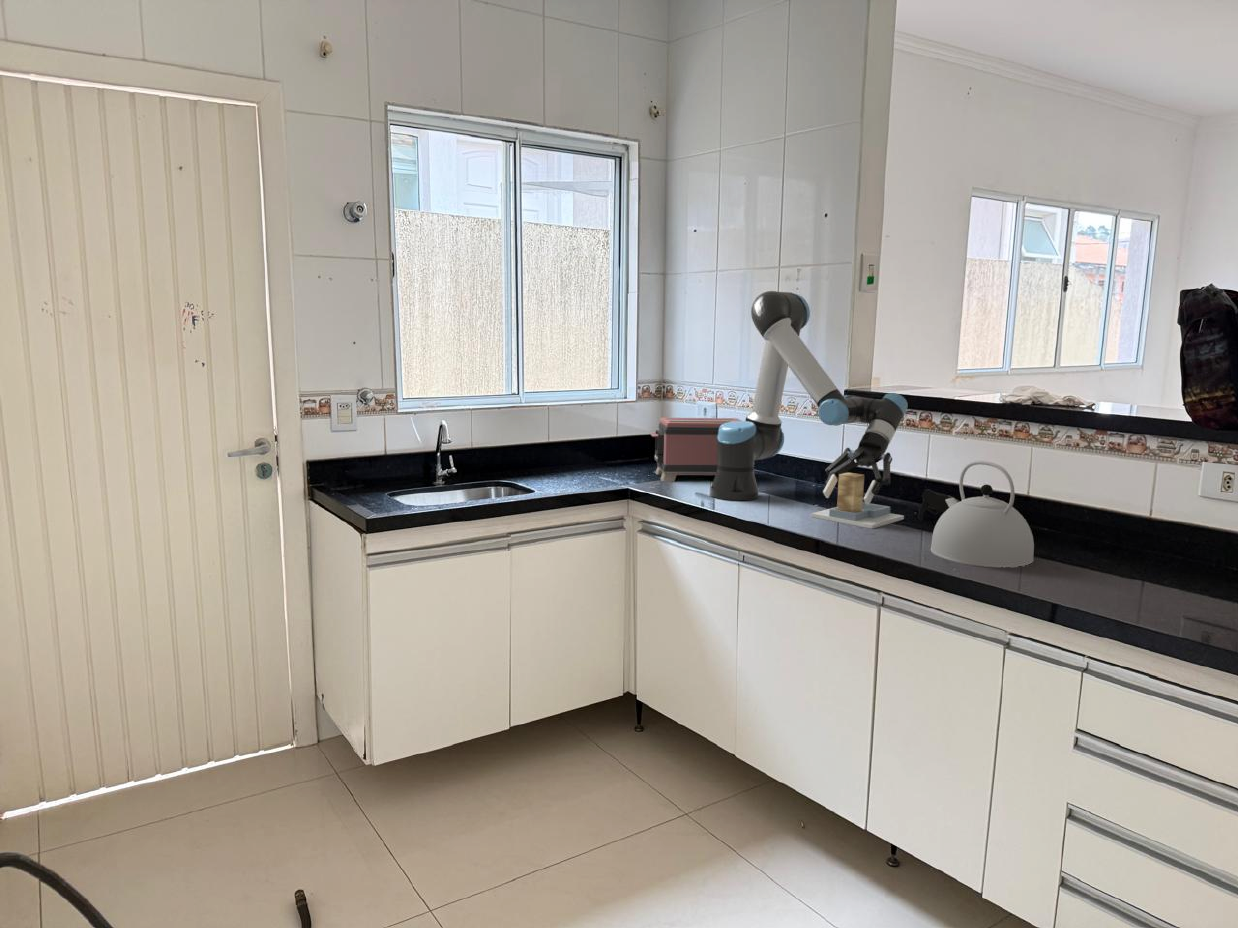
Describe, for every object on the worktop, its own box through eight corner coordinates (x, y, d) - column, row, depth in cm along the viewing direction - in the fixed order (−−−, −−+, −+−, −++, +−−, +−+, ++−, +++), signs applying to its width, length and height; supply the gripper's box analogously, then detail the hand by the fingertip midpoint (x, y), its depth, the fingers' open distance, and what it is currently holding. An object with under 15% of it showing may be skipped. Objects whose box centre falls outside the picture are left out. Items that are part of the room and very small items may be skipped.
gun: (962, 544, 235) (982, 514, 232) (910, 515, 236) (929, 485, 234) (960, 542, 237) (980, 512, 235) (908, 513, 239) (928, 483, 237)
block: (836, 516, 236) (838, 474, 234) (845, 514, 240) (848, 472, 238) (852, 519, 233) (855, 476, 231) (861, 517, 236) (864, 474, 234)
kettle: (905, 543, 212) (912, 454, 208) (980, 538, 218) (988, 452, 215) (974, 570, 188) (982, 471, 184) (1055, 564, 195) (1065, 468, 191)
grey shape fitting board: (811, 516, 240) (811, 506, 239) (843, 508, 252) (844, 498, 252) (872, 528, 227) (872, 517, 226) (903, 519, 239) (904, 508, 239)
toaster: (647, 472, 311) (648, 417, 307) (737, 473, 314) (740, 418, 311) (654, 482, 292) (655, 422, 289) (750, 482, 295) (753, 423, 292)
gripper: (920, 452, 236) (889, 513, 227) (843, 443, 252) (812, 499, 244) (912, 435, 231) (881, 496, 223) (834, 426, 248) (803, 483, 240)
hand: (845, 498), depth 233 cm, fingers open, 12 cm apart
